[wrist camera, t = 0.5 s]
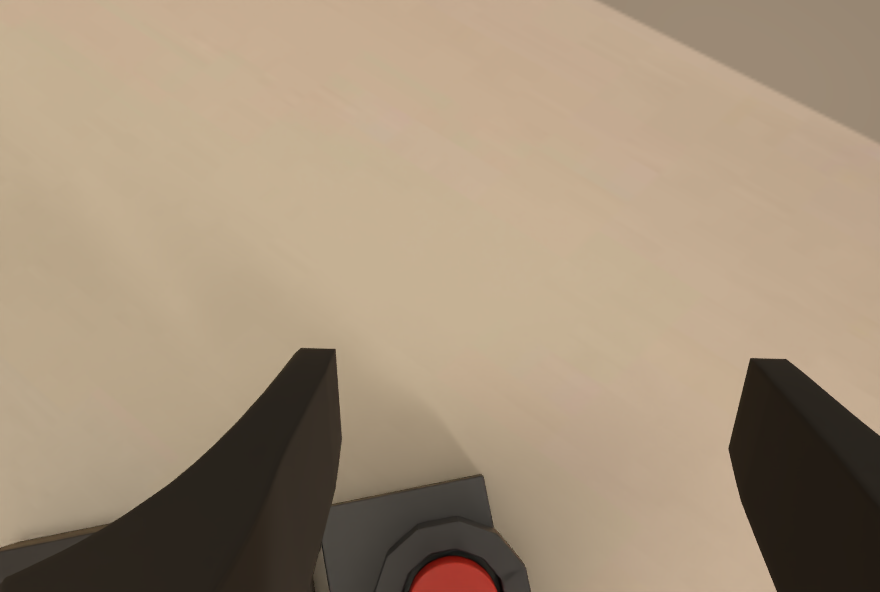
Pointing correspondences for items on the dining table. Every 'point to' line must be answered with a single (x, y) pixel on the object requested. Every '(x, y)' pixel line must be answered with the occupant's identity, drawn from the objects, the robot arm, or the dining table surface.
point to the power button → (452, 576)
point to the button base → (416, 537)
